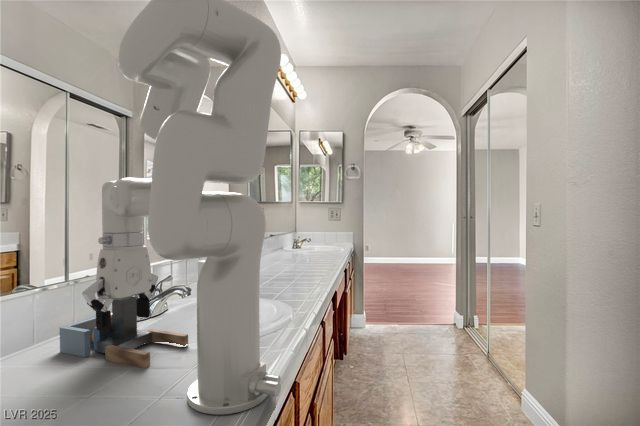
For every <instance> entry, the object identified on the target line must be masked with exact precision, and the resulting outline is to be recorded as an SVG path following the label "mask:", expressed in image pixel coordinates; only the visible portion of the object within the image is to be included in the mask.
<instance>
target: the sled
mask: <svg viewBox="0 0 640 426" xmlns="http://www.w3.org/2000/svg"><path fill="white" fill-rule="evenodd" d="M137 298H138V296H131V297H127V298H123V299H119V300H113V301H112V303H111V310H112V311H111V312H112V313H111V330H110V331H108V332H105V331H99V330H97V327H94V342H93V349H94V350H95V352H97V353H102V354H105V347H107V346H109V345H114V346H119V347H125V348H130V349H135V350H136V349H137V348H139V347H141V346H140V345H142V344H144V343H146V344H148V343H147V342H149V343H150V342H151V341H152V332H149V331H148V330H143V329H138V325H137V324H138V316H137ZM144 345H145V344H144ZM138 346H139V347H138ZM142 346H143V345H142Z"/></svg>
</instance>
